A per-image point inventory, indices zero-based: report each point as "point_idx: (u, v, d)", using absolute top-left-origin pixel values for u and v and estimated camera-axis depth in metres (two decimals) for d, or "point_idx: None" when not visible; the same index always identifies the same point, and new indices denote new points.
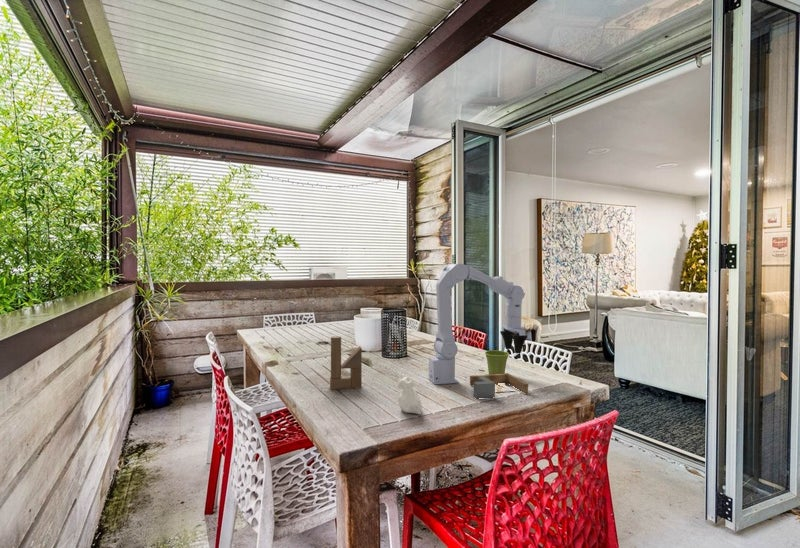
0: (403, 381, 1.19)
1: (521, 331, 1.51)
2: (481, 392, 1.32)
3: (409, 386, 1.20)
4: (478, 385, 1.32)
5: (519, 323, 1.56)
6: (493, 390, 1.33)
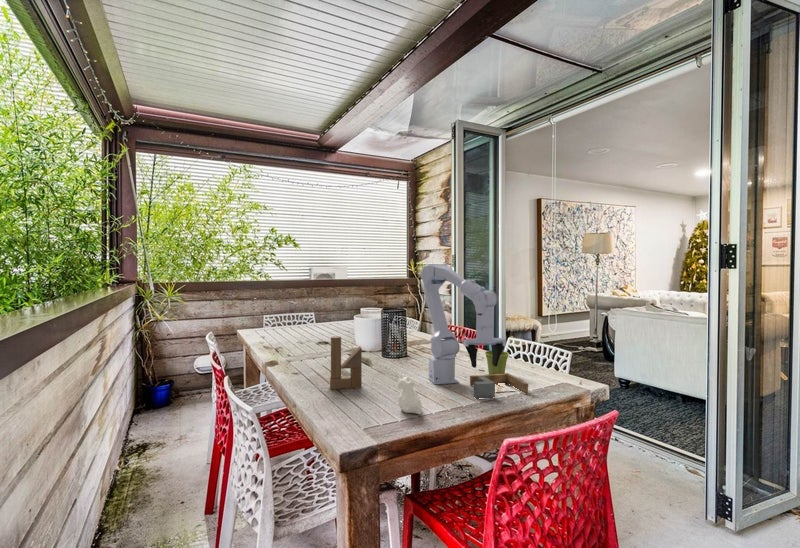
0: (403, 381, 1.19)
1: (464, 340, 1.37)
2: (481, 392, 1.32)
3: (409, 386, 1.20)
4: (478, 385, 1.32)
5: (479, 334, 1.36)
6: (493, 390, 1.33)
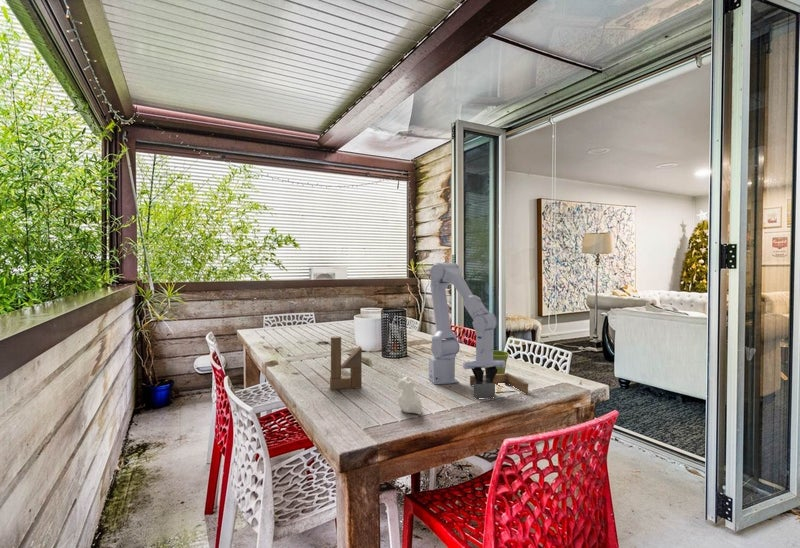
0: (403, 381, 1.19)
1: (463, 363, 1.37)
2: (481, 392, 1.32)
3: (409, 386, 1.20)
4: (478, 385, 1.32)
5: (478, 357, 1.36)
6: (493, 390, 1.33)
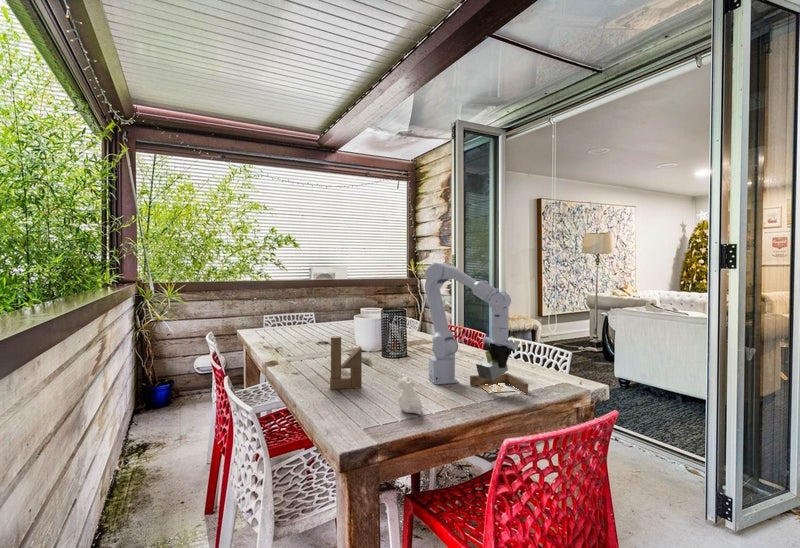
0: (403, 381, 1.19)
1: None
2: (481, 372, 1.40)
3: (409, 386, 1.20)
4: (477, 365, 1.41)
5: None
6: (489, 373, 1.37)
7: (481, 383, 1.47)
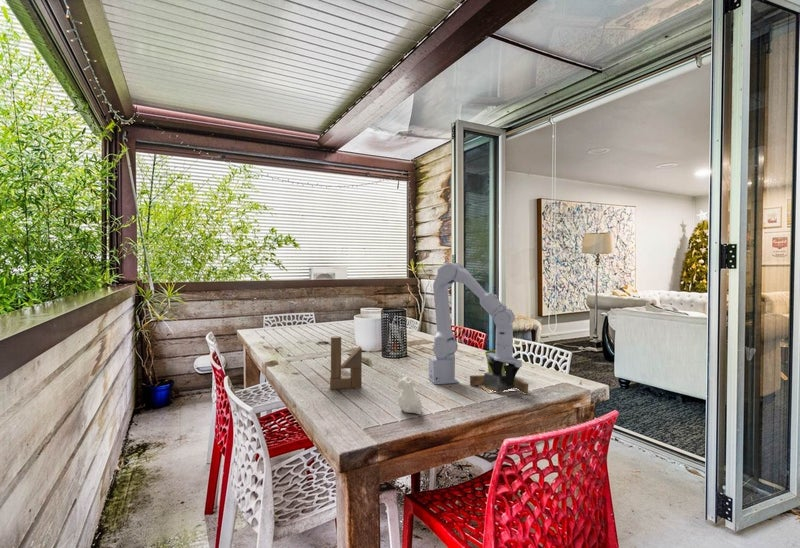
0: (403, 381, 1.19)
1: None
2: (487, 382, 1.43)
3: (409, 386, 1.20)
4: (485, 374, 1.43)
5: None
6: (496, 384, 1.39)
7: (481, 383, 1.47)
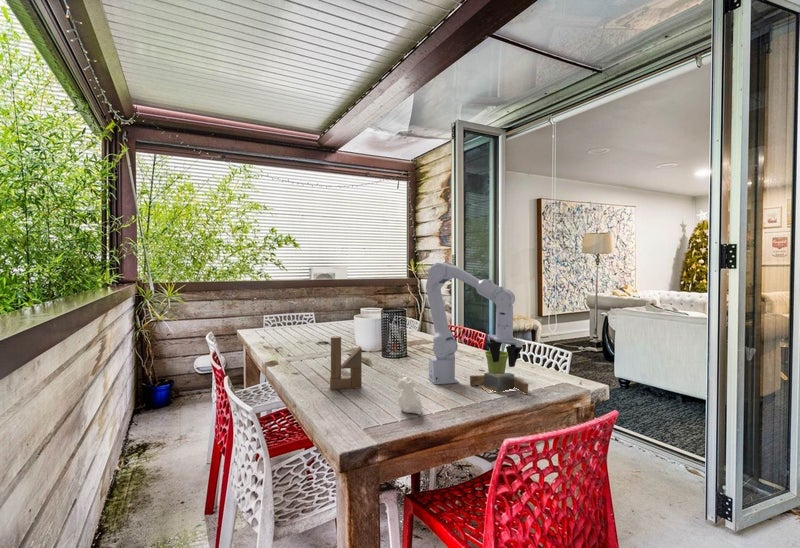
0: (403, 381, 1.19)
1: None
2: (487, 382, 1.42)
3: (409, 386, 1.20)
4: (485, 374, 1.43)
5: None
6: (496, 384, 1.39)
7: (481, 383, 1.47)
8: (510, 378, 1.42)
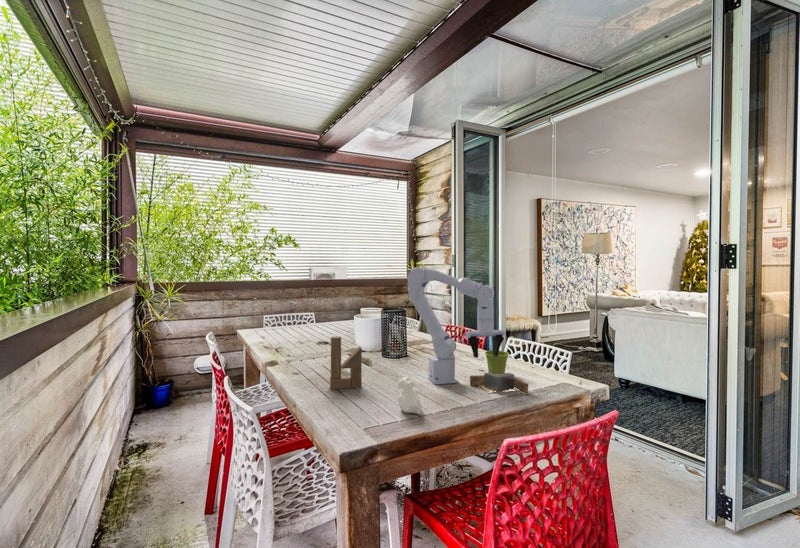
0: (403, 381, 1.19)
1: (466, 332, 1.46)
2: (487, 382, 1.42)
3: (409, 386, 1.20)
4: (485, 374, 1.43)
5: (480, 326, 1.45)
6: (496, 384, 1.39)
7: (481, 383, 1.47)
8: (510, 378, 1.42)
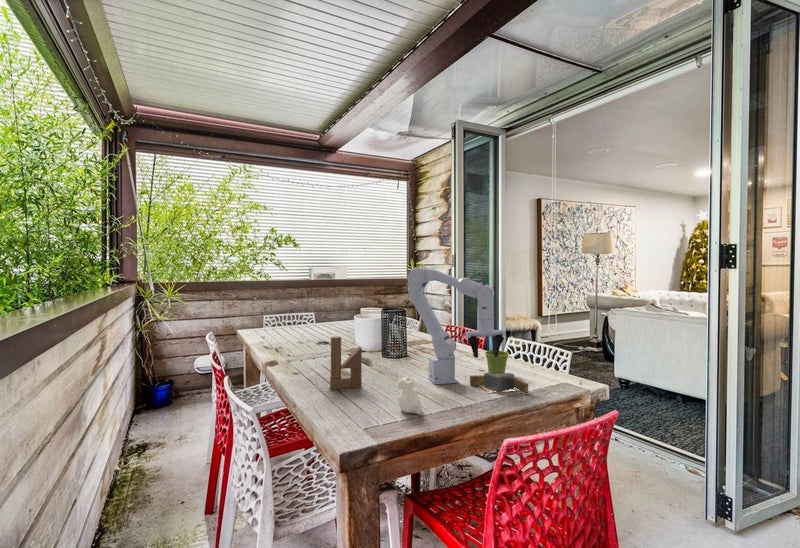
0: (403, 381, 1.19)
1: (466, 332, 1.46)
2: (487, 382, 1.42)
3: (409, 386, 1.20)
4: (485, 374, 1.43)
5: (480, 326, 1.45)
6: (496, 384, 1.39)
7: (481, 383, 1.47)
8: (510, 378, 1.42)
